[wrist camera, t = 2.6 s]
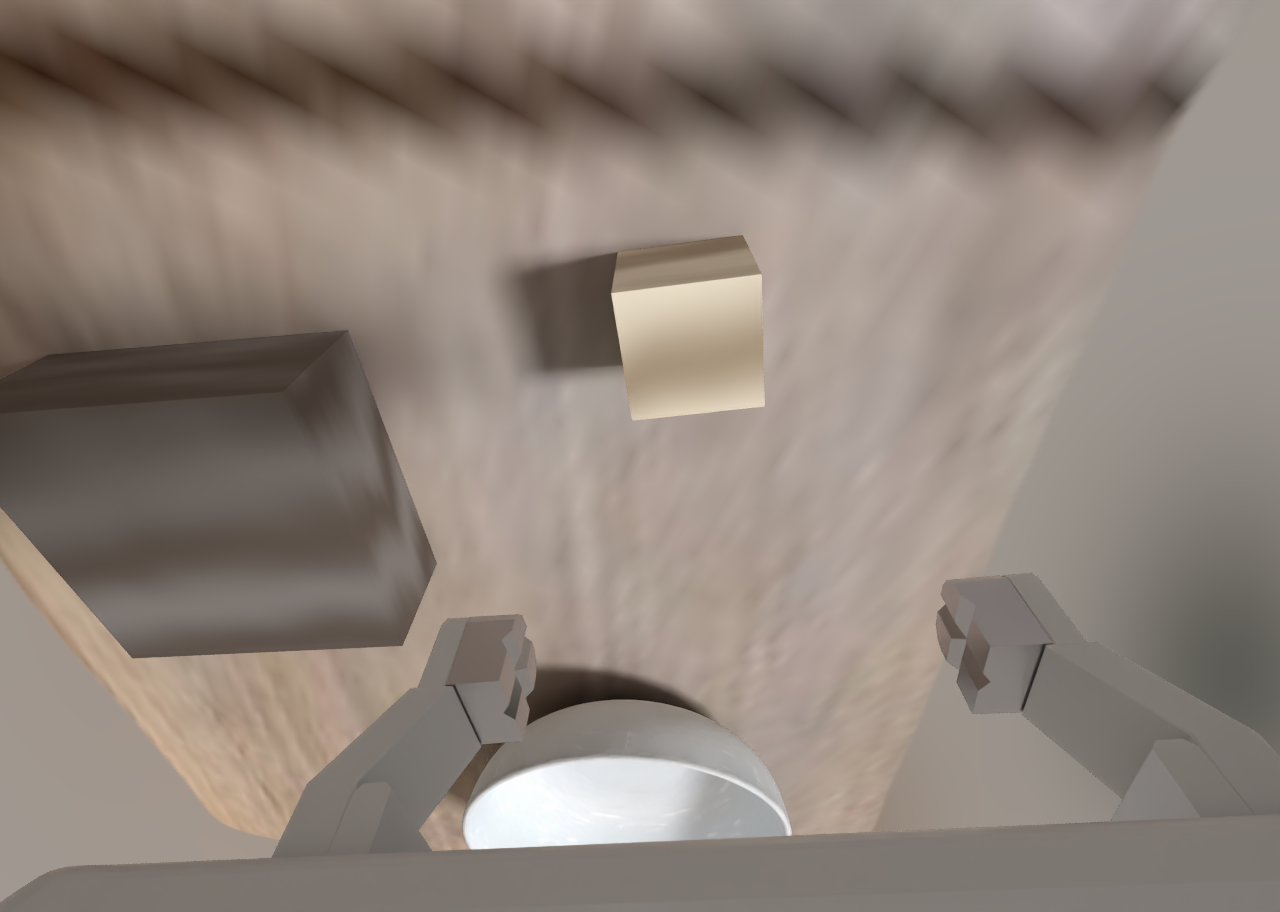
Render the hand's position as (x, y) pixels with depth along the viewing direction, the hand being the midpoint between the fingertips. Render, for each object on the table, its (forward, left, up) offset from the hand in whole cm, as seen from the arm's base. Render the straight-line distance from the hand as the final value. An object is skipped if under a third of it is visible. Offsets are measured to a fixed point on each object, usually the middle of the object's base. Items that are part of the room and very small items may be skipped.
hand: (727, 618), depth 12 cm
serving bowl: (+32, -7, -17) cm, 37 cm away
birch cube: (0, 0, -17) cm, 17 cm away
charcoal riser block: (+6, -22, -17) cm, 28 cm away
